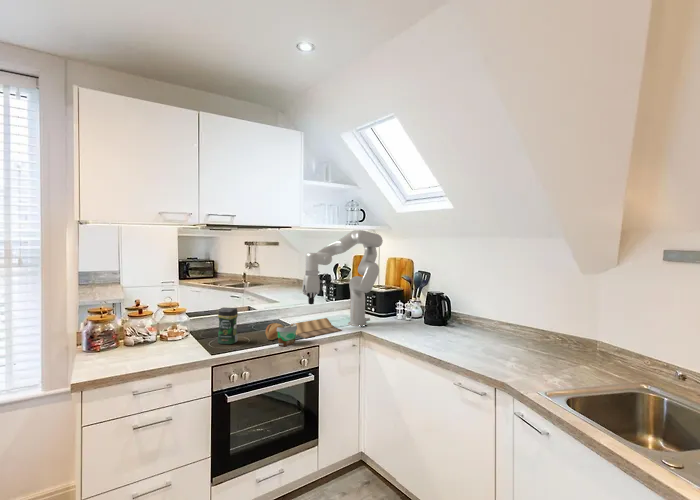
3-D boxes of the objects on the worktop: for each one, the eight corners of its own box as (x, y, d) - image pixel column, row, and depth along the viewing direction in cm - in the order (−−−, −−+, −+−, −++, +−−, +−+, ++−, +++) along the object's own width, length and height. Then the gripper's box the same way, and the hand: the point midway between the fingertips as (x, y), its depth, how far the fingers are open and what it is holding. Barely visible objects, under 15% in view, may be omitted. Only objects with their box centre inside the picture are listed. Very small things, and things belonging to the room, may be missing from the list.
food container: (284, 349, 179) (284, 329, 179) (276, 346, 183) (276, 327, 183) (302, 343, 189) (302, 324, 189) (293, 341, 193) (294, 323, 192)
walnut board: (333, 329, 219) (333, 327, 219) (341, 332, 213) (341, 329, 213) (297, 336, 202) (297, 334, 202) (305, 339, 196) (305, 337, 196)
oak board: (326, 319, 225) (326, 317, 224) (332, 328, 220) (333, 326, 219) (290, 325, 208) (291, 323, 207) (296, 335, 203) (297, 333, 202)
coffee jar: (215, 344, 186) (215, 308, 185) (222, 340, 193) (222, 305, 193) (233, 345, 184) (233, 309, 184) (239, 340, 192) (239, 306, 192)
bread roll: (261, 341, 193) (261, 326, 193) (271, 334, 208) (271, 320, 207) (278, 342, 191) (278, 327, 191) (287, 334, 206) (287, 321, 206)
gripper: (318, 272, 221) (317, 302, 222) (297, 273, 211) (297, 304, 212) (325, 273, 215) (324, 303, 216) (304, 274, 206) (304, 306, 206)
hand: (311, 304), depth 214 cm, fingers closed
